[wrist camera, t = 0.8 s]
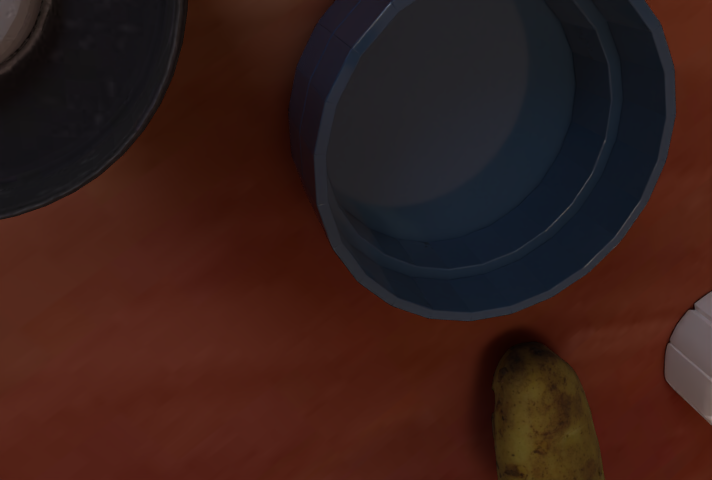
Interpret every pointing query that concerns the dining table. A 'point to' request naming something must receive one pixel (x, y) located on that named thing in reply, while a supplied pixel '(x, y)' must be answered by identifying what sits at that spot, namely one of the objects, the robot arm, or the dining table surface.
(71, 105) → the travel mug
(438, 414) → the dining table surface
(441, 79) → the blue pet bowl
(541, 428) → the potato
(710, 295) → the decorative vase
